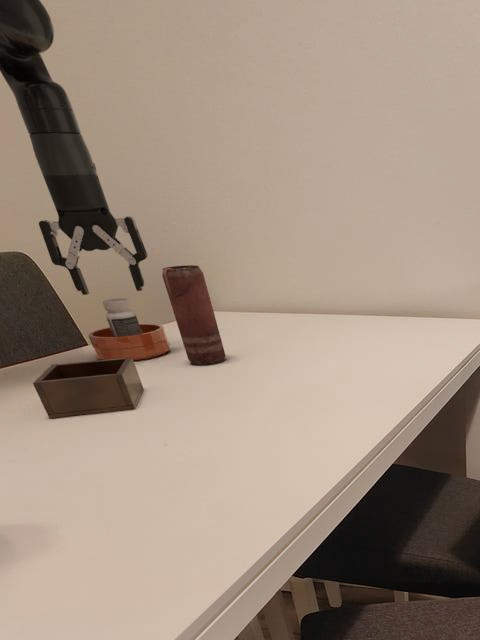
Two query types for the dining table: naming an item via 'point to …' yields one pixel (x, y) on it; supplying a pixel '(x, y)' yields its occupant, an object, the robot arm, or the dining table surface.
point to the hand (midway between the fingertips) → (113, 292)
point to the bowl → (130, 343)
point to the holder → (89, 387)
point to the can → (194, 314)
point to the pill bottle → (121, 318)
